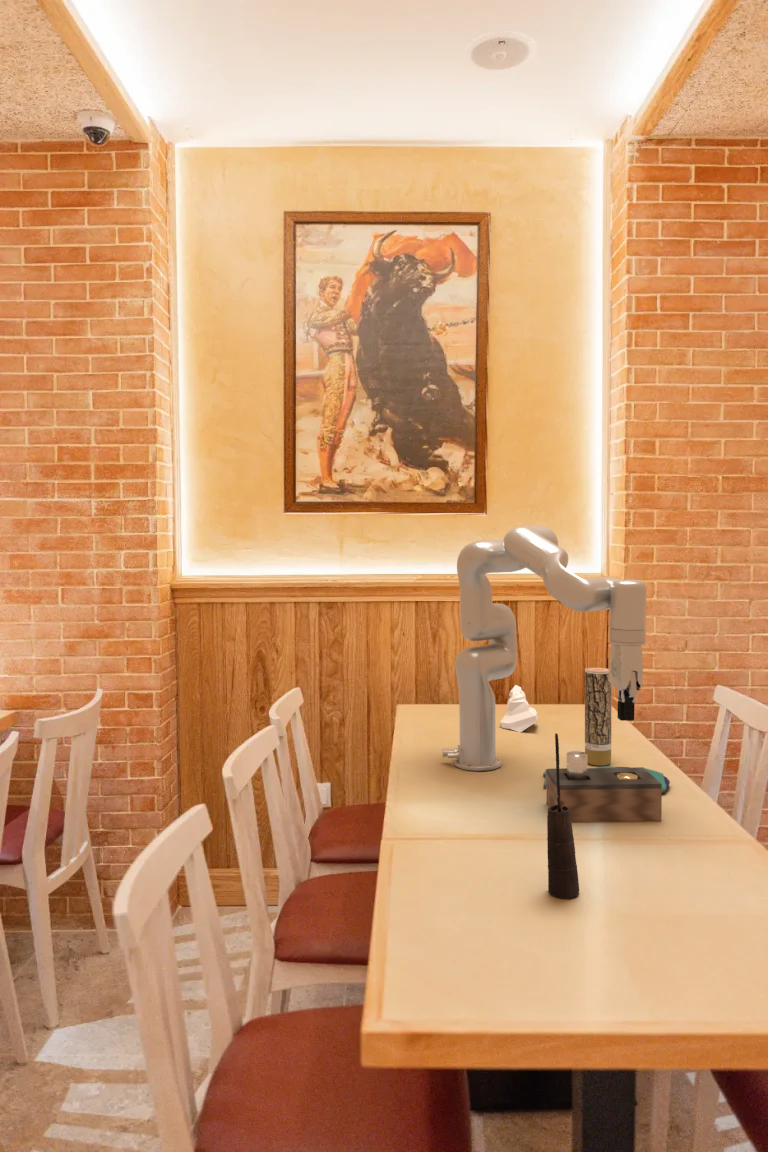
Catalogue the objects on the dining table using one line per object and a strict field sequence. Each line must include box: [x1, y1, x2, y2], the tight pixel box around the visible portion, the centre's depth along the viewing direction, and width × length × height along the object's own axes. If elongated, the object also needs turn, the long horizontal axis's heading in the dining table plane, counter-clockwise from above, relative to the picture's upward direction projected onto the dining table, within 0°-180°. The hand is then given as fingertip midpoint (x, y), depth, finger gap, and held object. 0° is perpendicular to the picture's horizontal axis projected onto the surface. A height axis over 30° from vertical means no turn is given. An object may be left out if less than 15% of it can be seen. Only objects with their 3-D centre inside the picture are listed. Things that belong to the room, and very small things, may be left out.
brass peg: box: [617, 773, 638, 779], centre depth 177 cm, size 4×4×7 cm
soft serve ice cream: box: [500, 684, 539, 733], centre depth 254 cm, size 12×15×14 cm
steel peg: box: [566, 750, 588, 780], centre depth 177 cm, size 4×4×7 cm
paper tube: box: [584, 667, 612, 767], centre depth 213 cm, size 7×7×25 cm
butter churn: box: [546, 732, 580, 900], centre depth 138 cm, size 9×10×28 cm
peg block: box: [546, 766, 663, 823], centre depth 177 cm, size 22×12×8 cm, turn 90°
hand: (625, 719), depth 176 cm, fingers closed
